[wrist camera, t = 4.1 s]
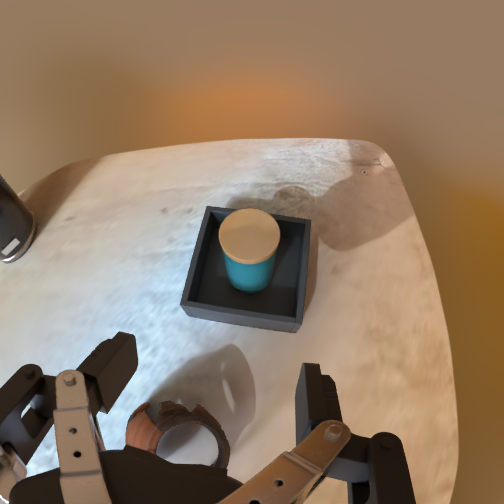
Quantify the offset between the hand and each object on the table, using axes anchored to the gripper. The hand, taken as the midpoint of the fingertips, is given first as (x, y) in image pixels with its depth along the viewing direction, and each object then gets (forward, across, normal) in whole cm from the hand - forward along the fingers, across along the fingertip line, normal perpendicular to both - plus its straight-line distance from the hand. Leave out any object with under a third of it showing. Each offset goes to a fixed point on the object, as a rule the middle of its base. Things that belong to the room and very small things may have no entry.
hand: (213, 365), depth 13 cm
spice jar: (+19, 0, +2) cm, 19 cm away
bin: (+19, 0, +3) cm, 19 cm away
